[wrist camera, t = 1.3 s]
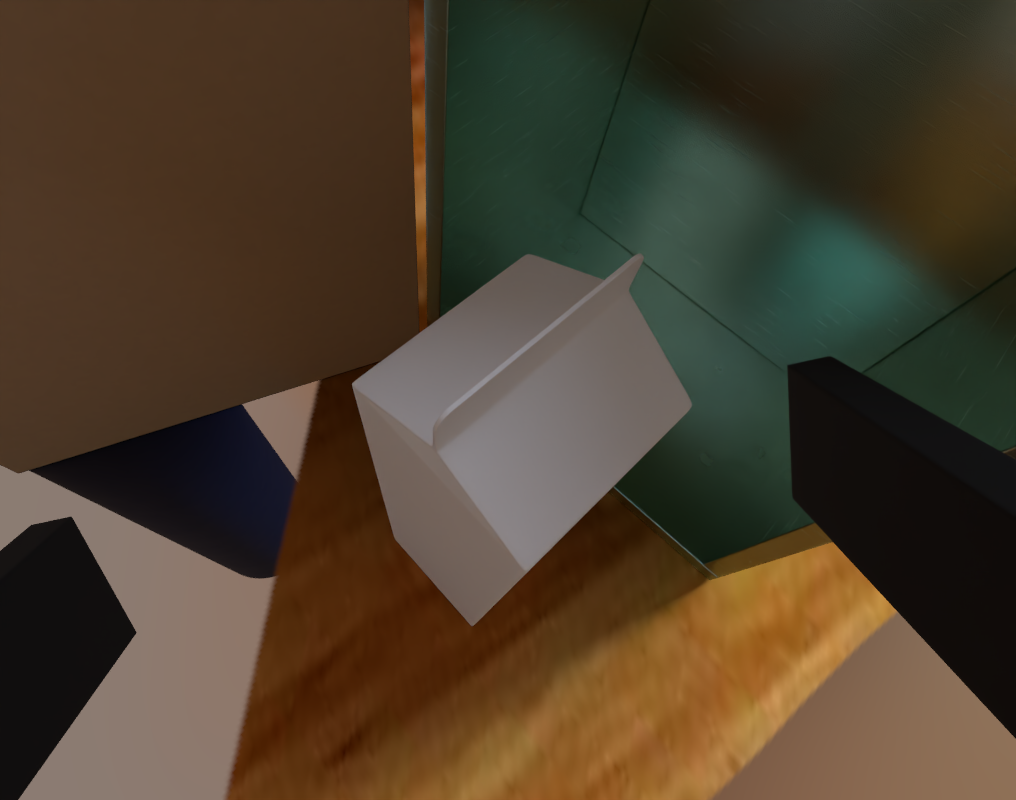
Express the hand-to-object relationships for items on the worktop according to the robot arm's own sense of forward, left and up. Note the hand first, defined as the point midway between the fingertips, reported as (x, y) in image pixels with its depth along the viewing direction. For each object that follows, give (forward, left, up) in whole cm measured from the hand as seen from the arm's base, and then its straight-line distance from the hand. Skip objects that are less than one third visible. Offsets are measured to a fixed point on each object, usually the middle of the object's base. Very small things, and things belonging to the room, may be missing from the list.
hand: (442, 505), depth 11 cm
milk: (-1, +4, -21) cm, 22 cm away
